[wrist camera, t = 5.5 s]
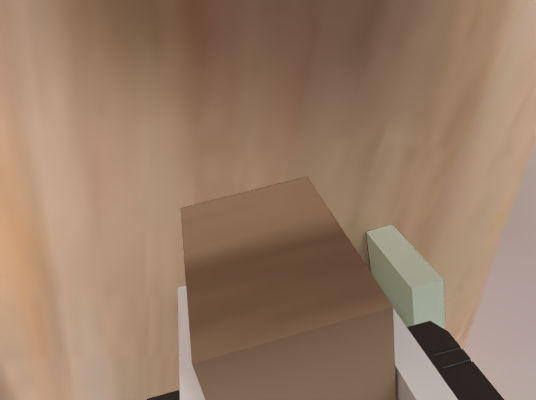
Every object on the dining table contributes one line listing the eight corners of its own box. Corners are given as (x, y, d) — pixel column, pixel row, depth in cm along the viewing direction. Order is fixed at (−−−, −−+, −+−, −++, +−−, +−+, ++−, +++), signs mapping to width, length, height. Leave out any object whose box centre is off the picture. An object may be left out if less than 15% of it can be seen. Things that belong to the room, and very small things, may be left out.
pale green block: (232, 269, 32) (269, 450, 19) (417, 217, 33) (568, 356, 20) (266, 386, 37) (312, 587, 24) (424, 337, 38) (546, 506, 26)
